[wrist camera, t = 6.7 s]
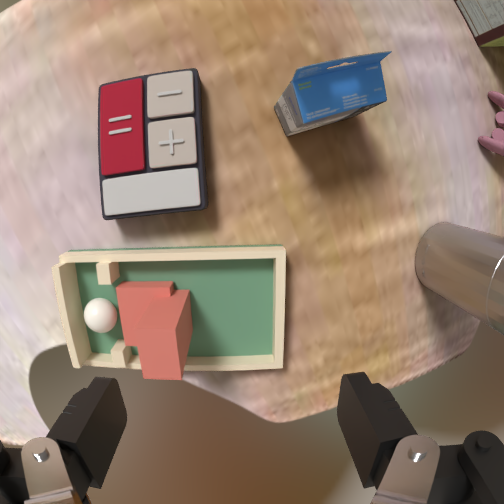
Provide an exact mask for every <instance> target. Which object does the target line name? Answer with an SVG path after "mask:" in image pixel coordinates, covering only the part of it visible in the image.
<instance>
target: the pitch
mask: <svg viewBox="0 0 504 504" xmlns="http://www.w3.org/2000/svg"><path fill="white" fill-rule="evenodd" d="M59 259H60V263H58V264H57V265H55V266H53V267H52V274H53V280H54V286H55V292H56V297H57V302H58V307H59V312H60V317H61V321H62V326H63V330H64V334H65V338H66V342H67V346H68V350H69V354H70V357H71V361H72V364H73V367H74V368H81V367H82V365H88V366H99V367H111V368H124V369H141V364H140V359H139V353H138V348H137V346H125V341H124V336H123V330H122V325H121V319H120V313H119V306H118V299H117V292H116V287H117V286H118V285H119V284H120V283H121V282H122V281H173V284H174V290H190V302H191V314H192V326H193V332H192V337H191V341H190V345H189V350H188V354H187V358H186V363H185V367H184V371H235V370H260V369H277V368H283V349H284V318H285V274H286V250H285V248H284V247H283V246H282V245H281V244H280V245H236V246H195V247H158V248H123V249H91V250H70V251H68V252H66V253H64V254H62V255H59ZM95 298H104V299H107V300H109V301H110V302H111V303H112V304H113V305H114V306H115V308H116V311H117V322H116V324H115V326H114V327H113V328H112V329H111V330H110V331H108V332H105V333H98V332H95V331H93V330H91V329H90V328H89V327H88V326H87V324H86V322H85V319H84V310H85V307H86V305H87V304H88V303H89V302H90V301H91V300H93V299H95ZM141 370H142V369H141Z"/></svg>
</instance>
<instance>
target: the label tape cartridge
mask: <svg viewBox="0 0 504 504" xmlns="http://www.w3.org/2000/svg"><path fill="white" fill-rule="evenodd" d="M390 53H391V51H387V52H379V53H372V54H365V55H359V56H352V57H347V58H341V59H336V60H331V61H326V62H322V63H317V64H313V65H308V66H304V67H300V68H297V69H296V72H295V74H294V77H293V79H292V81H291V82H290V84H289V85H288V86H287V88H286V89H285V91H284V92H283V94H282V96H281V97H280V98H279V100H278V102H277V103H276V105H275V106H274V109H275V112H276V114H277V116H278V118H279V121H280V123H281V125H282V128H283V130H284V132H285V135H286V136H290V135H294V134H297V133H300V132H303V131H307V130H310V129H313V128H316V127H320V126H323V125H327V124H330V123H334V122H337V121H341V120H344V119H348V118H351V117H354V116H356V115H358V114H360V113H362V112H364V111H367V110H369V109H371V108H373V107H375V106H377V105H379V104H381V103H383V102H386V101H387V97H386V91H385V85H384V80H383V74H382V69H381V64H380V61H381V60H382V59H383V58H385V57H386V56H387V55H388V54H390ZM344 62H348V63H352V62H356V63H353V64H348V65H343V66H339V67H334V68H329V69H327V68H328V67H331V66H336V65H340V64H342V63H344Z"/></svg>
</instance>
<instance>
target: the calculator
mask: <svg viewBox="0 0 504 504" xmlns="http://www.w3.org/2000/svg"><path fill="white" fill-rule="evenodd" d="M98 153H99V176H100V192H101V205H102V215H103V218H104V219H105V220H113V219H121V218H129V217H138V216H147V215H156V214H166V213H176V212H186V211H196V210H203V209H206V208H207V207H208V196H207V183H206V170H205V159H204V144H203V127H202V108H201V88H200V77H199V74H198V70H197V69H195V68H191V69H183V70H176V71H168V72H162V73H156V74H150V75H144V76H139V77H133V78H128V79H124V80H119V81H114V82H110V83H106V84H102V85H101V86H100V87H99V98H98Z"/></svg>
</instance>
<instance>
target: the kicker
mask: <svg viewBox="0 0 504 504" xmlns="http://www.w3.org/2000/svg"><path fill="white" fill-rule="evenodd" d="M116 292H117V299H118V306H119V313H120V319H121V325H122V330H123V336H124V341H125V346H137V348H138V353H139V359H140V364H141V369H142V374H143V378H144V379H166V380H182V376H183V372H184V367H185V363H186V358H187V354H188V350H189V345H190V341H191V337H192V332H193V326H192V314H191V302H190V290H174V284H173V281H122V282H121V283H120V284H119V285H118V286H117V287H116Z"/></svg>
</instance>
